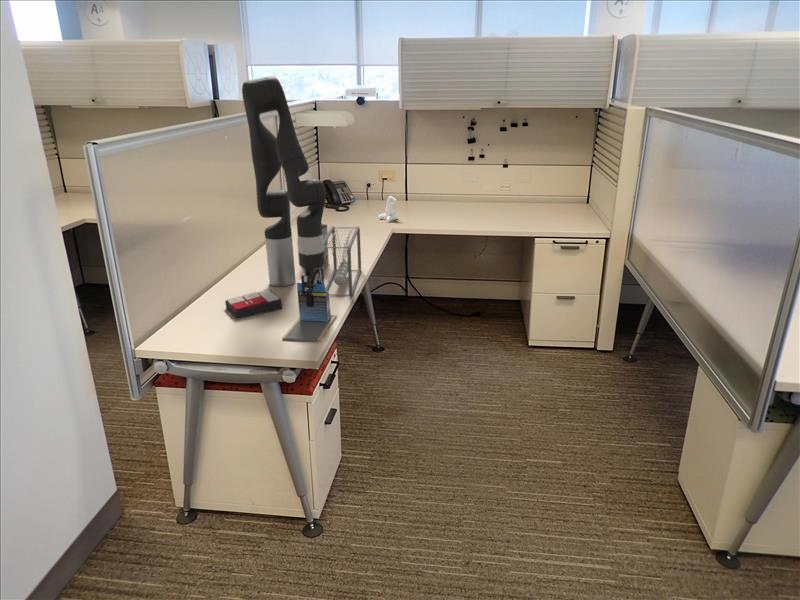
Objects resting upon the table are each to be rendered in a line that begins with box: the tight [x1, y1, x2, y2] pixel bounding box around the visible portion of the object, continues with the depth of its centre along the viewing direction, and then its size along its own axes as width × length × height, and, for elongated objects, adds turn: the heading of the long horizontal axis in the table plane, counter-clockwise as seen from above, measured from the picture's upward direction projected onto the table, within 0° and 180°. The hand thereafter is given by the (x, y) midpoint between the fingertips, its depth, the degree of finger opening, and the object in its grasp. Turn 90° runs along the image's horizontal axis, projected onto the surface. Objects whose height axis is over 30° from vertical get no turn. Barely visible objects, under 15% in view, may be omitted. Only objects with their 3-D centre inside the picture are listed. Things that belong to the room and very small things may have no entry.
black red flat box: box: [224, 288, 283, 320], centre depth 185 cm, size 11×4×15 cm
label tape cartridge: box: [296, 282, 331, 322], centre depth 173 cm, size 9×4×12 cm, turn 81°
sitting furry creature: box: [378, 195, 399, 223], centre depth 292 cm, size 10×9×12 cm
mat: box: [282, 314, 337, 343], centre depth 170 cm, size 18×11×1 cm, turn 171°
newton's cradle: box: [322, 225, 362, 298], centre depth 203 cm, size 30×10×18 cm, turn 178°
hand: (314, 301), depth 173 cm, fingers open, 8 cm apart
